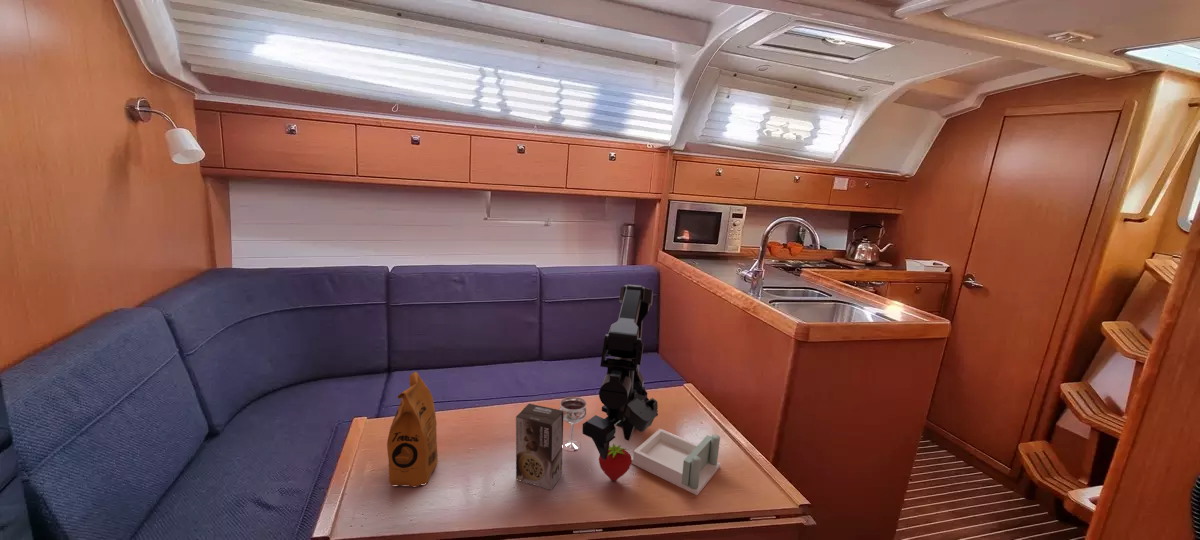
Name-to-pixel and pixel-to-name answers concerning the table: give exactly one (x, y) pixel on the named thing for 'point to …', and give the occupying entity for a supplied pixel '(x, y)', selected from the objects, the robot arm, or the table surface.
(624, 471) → the strawberry
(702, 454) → the cradle stand
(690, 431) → the table surface
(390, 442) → the coffee package
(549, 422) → the coffee box
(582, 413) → the wineglass
